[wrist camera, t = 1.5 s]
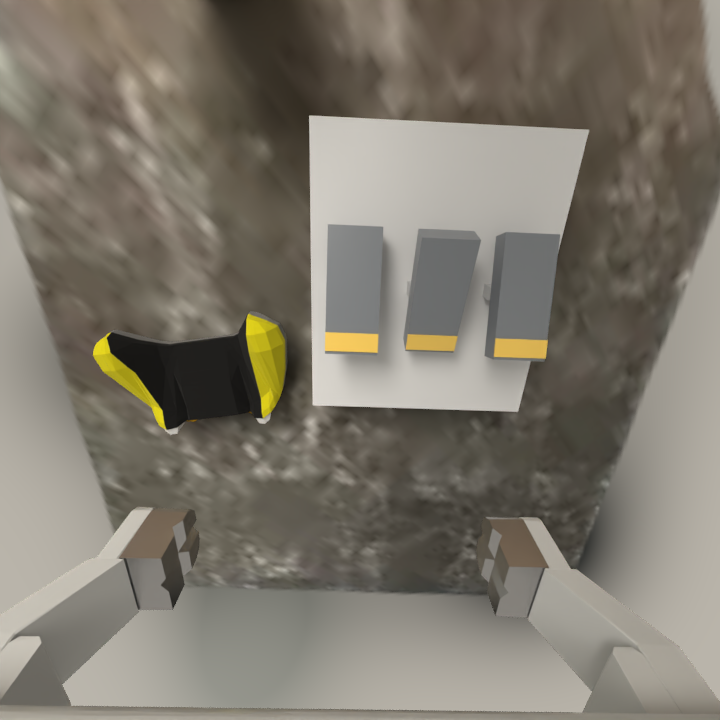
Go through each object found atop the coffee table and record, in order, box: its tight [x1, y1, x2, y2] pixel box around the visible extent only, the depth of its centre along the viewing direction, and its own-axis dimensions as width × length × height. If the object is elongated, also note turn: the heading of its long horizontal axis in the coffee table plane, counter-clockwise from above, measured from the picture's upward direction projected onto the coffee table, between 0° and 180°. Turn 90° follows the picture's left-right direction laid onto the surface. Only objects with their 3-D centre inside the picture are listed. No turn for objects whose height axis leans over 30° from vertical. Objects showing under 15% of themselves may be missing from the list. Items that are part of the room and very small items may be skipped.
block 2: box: [484, 232, 560, 361], centre depth 24 cm, size 8×3×2 cm, turn 178°
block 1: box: [325, 224, 383, 356], centre depth 24 cm, size 8×3×2 cm, turn 178°
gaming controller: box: [93, 311, 287, 435], centre depth 31 cm, size 15×6×10 cm
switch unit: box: [309, 115, 589, 412], centre depth 28 cm, size 20×17×6 cm
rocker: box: [403, 229, 481, 353], centre depth 24 cm, size 8×3×2 cm, turn 178°
